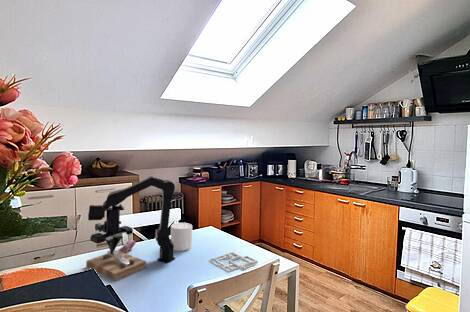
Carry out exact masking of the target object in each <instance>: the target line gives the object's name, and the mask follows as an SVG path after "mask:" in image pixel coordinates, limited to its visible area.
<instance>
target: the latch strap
mask: <svg viewBox="0 0 470 312" xmlns="http://www.w3.org/2000/svg"><path fill="white" fill-rule="evenodd" d="M107 253H108V254H109V255H111V256H112V257H113V258H115V259H116V260H117V261H118V262H120V263H125V266H127V265H130V264H131V262H129V261H128V260H127V259H125V258H124V257H123V256H121V255H120V254H119V253H117V252H116V250H114V252H111V251H110V250H108V251H107V252H106V254H107Z"/></svg>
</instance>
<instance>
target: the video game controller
mask: <svg viewBox="0 0 470 312" xmlns="http://www.w3.org/2000/svg"><path fill="white" fill-rule="evenodd" d="M136 243H137V242H136V240H133V239H131V240H128V241H126V243H124V245H122V247H120V249H118V251H120V252H123V253H125V254H128V252H129V251H131V250H132V249H133V248H134V247H135V245H136Z"/></svg>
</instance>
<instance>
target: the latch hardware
mask: <svg viewBox="0 0 470 312" xmlns="http://www.w3.org/2000/svg"><path fill="white" fill-rule="evenodd" d="M102 255H103V259H108V258H110V257H112V256H111V255H109V254H108V253H107V252H106V253H105V254H102ZM130 262H131V264H132V265H133V264H134V260H133V259H130ZM121 268H125V263H121Z"/></svg>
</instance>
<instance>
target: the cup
mask: <svg viewBox="0 0 470 312" xmlns="http://www.w3.org/2000/svg"><path fill="white" fill-rule="evenodd" d="M170 239H171V241H172V243H173V245H174V248H173V251H177V252H178V251H181V252H183V251H187V250H190V249H192V247H193V225H192V224H191V223H188V222H175V223H172V224H171V225H170Z"/></svg>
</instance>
